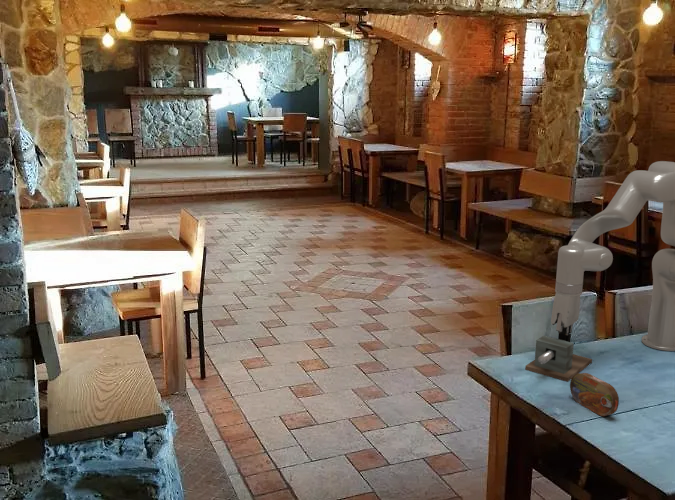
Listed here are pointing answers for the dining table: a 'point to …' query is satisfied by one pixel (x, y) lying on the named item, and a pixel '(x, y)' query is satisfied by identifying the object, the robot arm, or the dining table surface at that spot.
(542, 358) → the shaft
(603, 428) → the dining table surface
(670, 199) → the robot arm
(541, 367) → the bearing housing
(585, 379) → the tin
